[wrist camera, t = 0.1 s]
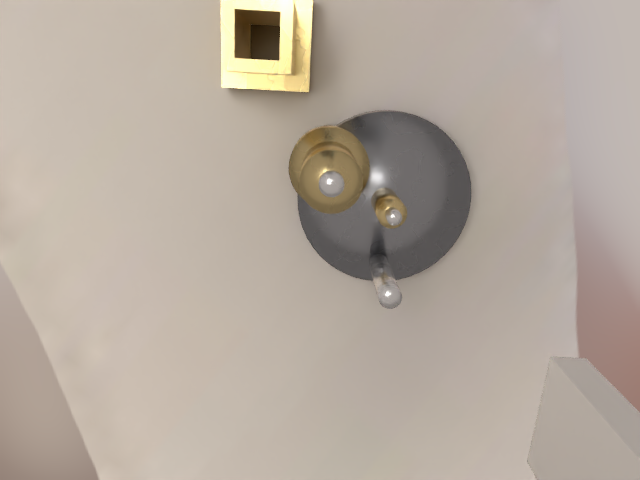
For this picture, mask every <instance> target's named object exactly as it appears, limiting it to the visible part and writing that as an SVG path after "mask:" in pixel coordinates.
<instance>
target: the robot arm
mask: <svg viewBox="0 0 640 480" xmlns="http://www.w3.org/2000/svg"><path fill="white" fill-rule="evenodd" d="M527 462H528V464H529V466H530V468H531V469H532V471H533V473H534V475H535V476H536V478H537V480H640V412H638V410H637V409H636V408H635V407H634V406H633V405H632V404H630V402H629V401H628V400H627V399H626V398H625V397H624V396H623V395H622V394H621V393H620V392H619V391H618V390H617V389H616V388H615V387H614V386H613V385H612V384H611V383H610V382H609V381H608V380H607V379H606V378H605V377H604V376H603V375H602V374H601V373H600V372H599V371H598V370H597V369H596V368H595V367H594V366H593V365H592V364H591V363H590V362H589V361H588V360H587V359H586V358H566V357H550V361H549V366H548V370H547V375H546V379H545V384H544V388H543V393H542V397H541V402H540V406H539V411H538V415H537V419H536V424H535V428H534V433H533V437H532V442H531V446H530V451H529V455H528V460H527Z"/></svg>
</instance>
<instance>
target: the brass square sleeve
mask: <svg viewBox="0 0 640 480" xmlns="http://www.w3.org/2000/svg"><path fill="white" fill-rule="evenodd" d="M312 18H313V0H221V70H222V87H225V88H243V89H262V90H280V91H298V92H309V87H310V64H311V41H312ZM251 24H254V25H271V26H280V57H279V61H275V60H257V59H251Z"/></svg>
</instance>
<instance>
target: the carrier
mask: <svg viewBox="0 0 640 480" xmlns="http://www.w3.org/2000/svg"><path fill="white" fill-rule="evenodd" d="M289 175H290V179H291V183H292V185H293V187H294V189H295V190H296V192H297V193H298V210H299V217H300V221H301V224H302V227H303V230H304V232H305V234H306V236H307V239H308V240H309V242H310V243H311V245H312V246H313V248H314V249H315V250H316V251H317V253H318V254H319V255H320V256H321V257H322V258H323V259H324V260H325V261H326V262H327V263H329V264H330V265H332V266H333V267H335V268H336V269H338V270H340V271H342V272H343V273H345V274H348V275H351V276H353V277H356V278H360V279H365V280H372V281H374V284H375V288H376V291H377V295H378V298H379V302H380V304H381V305H382V306H383V307H385V308H389V309H391V308H395V307H397V306H398V305H399V304H400V303H401V300H402V295H401V292H400V290H399V287H398V285H397V282H396V280H397V279H401V278H405V277H409V276H412V275H414V274H417V273H419V272H421V271H423V270H425V269H427V268H428V267H430V266H431V265H433V264H434V263H436V262H437V261H438V260H439V259H440V258H441V257H443V256H444V255H445V254H446V253H447V252H448V250H449V249H450V248H451V247H452V246H453V245H454V243H455V242H456V240H457V239H458V237H459V235H460V234H461V232H462V230H463V228H464V225H465V223H466V220H467V217H468V213H469V208H470V202H471V182H470V177H469V172H468V169H467V166H466V163H465V160H464V158H463V156H462V154H461V152H460V151H459V149H458V148H457V146H456V145H455V143H454V142H453V141H452V140H451V139H450V138H449V137H448V135H447V134H446V133H444V132H443V131H442V130H441V129H439V128H438V127H437V126H435V125H434V124H432V123H430V122H429V121H427V120H425V119H422V118H420V117H418V116H415V115H411V114H408V113H404V112H399V111H391V110H380V111H372V112H366V113H362V114H359V115H356V116H353V117H351V118H349V119H347V120H344V121H343V122H341V123H340V124H338V125H336V126H331V125H326V126H320V127H316V128H314V129H312V130H310V131H308V132H307V133H305V134H304V135H303V136H302V137H301V138H300V139H299V140H298V142H297V143H296V145H295V147H294V149H293V151H292V154H291V157H290V161H289Z"/></svg>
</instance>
